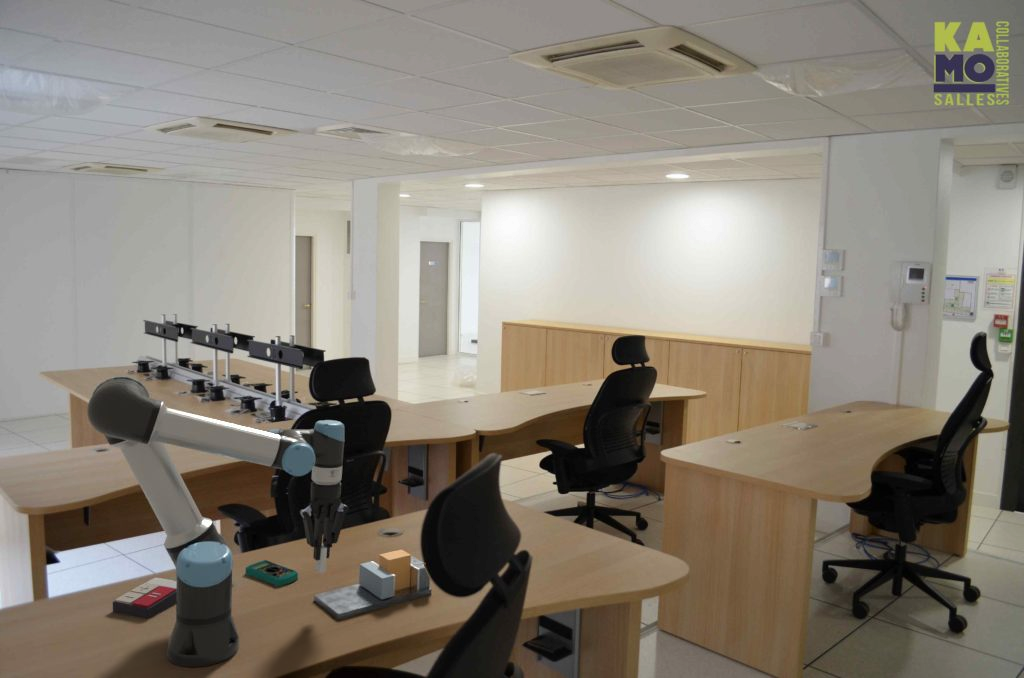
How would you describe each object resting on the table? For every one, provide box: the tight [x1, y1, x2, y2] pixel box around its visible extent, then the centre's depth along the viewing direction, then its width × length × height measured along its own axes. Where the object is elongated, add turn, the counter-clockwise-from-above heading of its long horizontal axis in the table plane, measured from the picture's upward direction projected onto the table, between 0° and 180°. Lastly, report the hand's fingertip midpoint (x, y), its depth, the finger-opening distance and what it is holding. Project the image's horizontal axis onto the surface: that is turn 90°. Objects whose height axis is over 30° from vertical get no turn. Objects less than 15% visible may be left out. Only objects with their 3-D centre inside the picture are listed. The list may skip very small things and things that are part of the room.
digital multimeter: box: [245, 559, 299, 587], centre depth 215 cm, size 7×15×3 cm, turn 57°
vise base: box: [313, 555, 432, 621], centre depth 204 cm, size 28×14×8 cm, turn 130°
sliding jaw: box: [358, 560, 395, 599], centre depth 205 cm, size 4×12×6 cm, turn 40°
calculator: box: [112, 577, 177, 620], centre depth 195 cm, size 11×4×15 cm
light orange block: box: [378, 549, 412, 591], centre depth 208 cm, size 7×5×9 cm
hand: (320, 571), depth 195 cm, fingers closed
